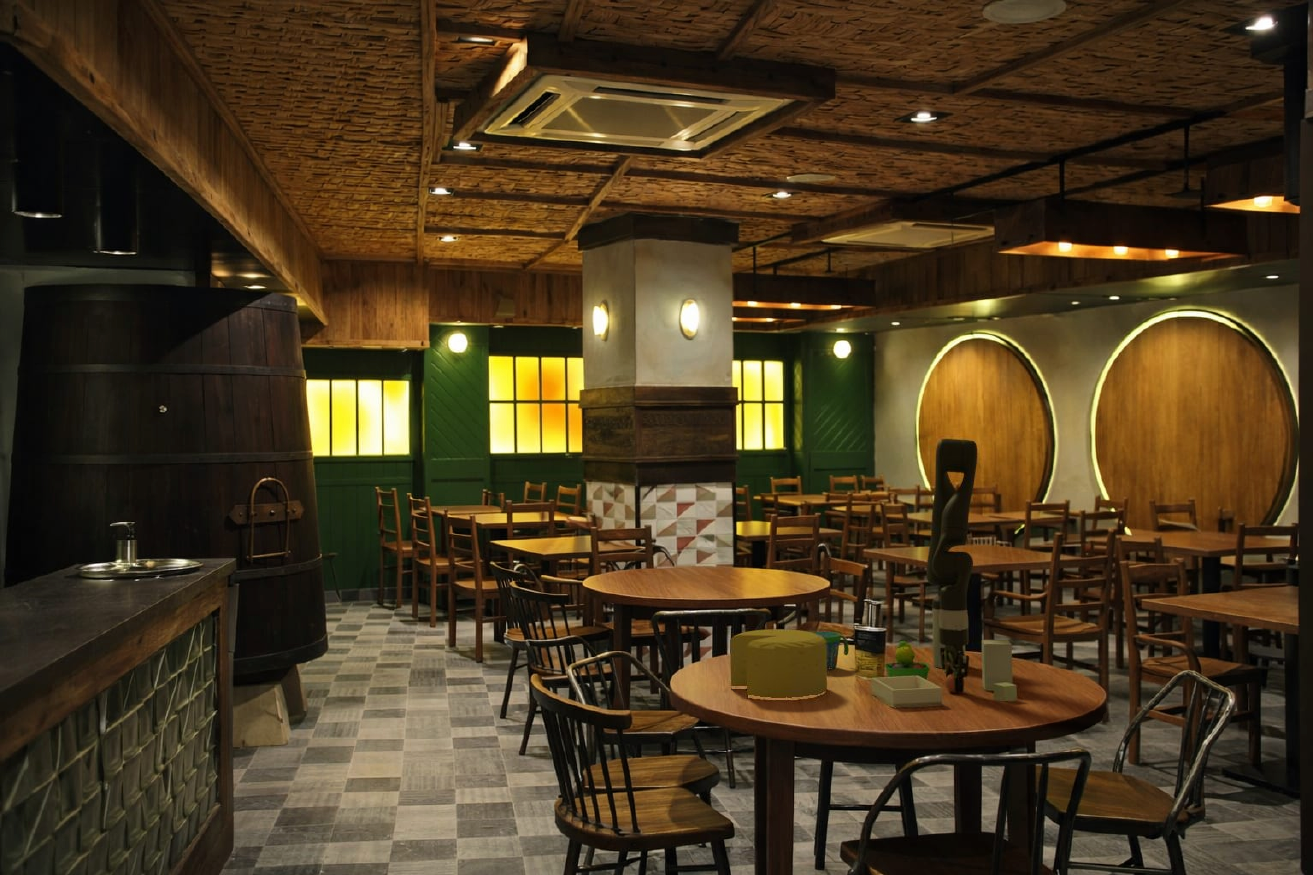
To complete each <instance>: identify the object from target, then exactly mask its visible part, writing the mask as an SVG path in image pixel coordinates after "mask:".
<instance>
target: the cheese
mask: <svg viewBox="0 0 1313 875" xmlns="http://www.w3.org/2000/svg"><path fill="white" fill-rule="evenodd" d="M812 632H813V631H806V630H800V629H799V630H797V629H782V628H781V629H778V628H777V629H776V628H775V629H774V628H773V629H759V630H758V629H756V630H751V631H750V630H749V631H745V632H741V633H738V634H736V635H734V636H732V638H730V639H729V649H730V654H729V655H730V687H731V686H747V690H746V696H747V695H754V696H760V697H771V698H786V697H787V698H792V697H803V696H809V695H818V694H821V693H823V692H825V691H826V689H827V690H828V680H827V679H828V674H827V673H828V670H827V657H826V640H825V639H824V638H823V637H822V636H820V635H817V634H814V633H812Z"/></svg>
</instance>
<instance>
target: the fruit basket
mask: <svg viewBox="0 0 1313 875" xmlns="http://www.w3.org/2000/svg"><path fill="white" fill-rule="evenodd" d="M894 656H895V662H890V663H884V667H885V669H886V672H887V673H886V674H887V677H899V676H920V677H922V678H924V679H926V680H927V681H928V673H929V671H930V668H931V667H930V666H929V665H928V664H927V663H925V662H915V661H914V659H915V657H916V654H915V651H914V649H913V648H912V646H911V644H910V643H909V642H907V641H905V640H903V641H900V642H898V645H897V649H896V651H895V655H894Z"/></svg>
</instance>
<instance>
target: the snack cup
mask: <svg viewBox="0 0 1313 875" xmlns="http://www.w3.org/2000/svg"><path fill="white" fill-rule="evenodd" d="M811 632H812V633H814V634H817V635H820V636H822V637H823V638H824V639H825V640H826V657H827V669H829V668H834V669H836V667H837V665H838V659H839V658H838V656H839V648H840V647H839V646H840V642H841V640H843V654H844V656H848V655H849V643H848V640H847V638H846V637H845V636H843V635H841V633H839V632H837V631H836V632H835V631H811ZM829 670H830V669H829Z"/></svg>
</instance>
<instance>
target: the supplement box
mask: <svg viewBox="0 0 1313 875" xmlns="http://www.w3.org/2000/svg"><path fill="white" fill-rule="evenodd" d="M1012 646H1013V645H1012V643H1011V641H1010V640H1007V639H1003V640H1002V639H982V640H981V665H982V666H981V670H982V671H981V673H982V674H981V675H982V682H981V683H982V688H983V689H984V691H985V692H986V691H989V692H994V684H997V683H1005V682H1007V683H1010V684H1013V651H1012V650H1013V647H1012Z"/></svg>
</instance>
